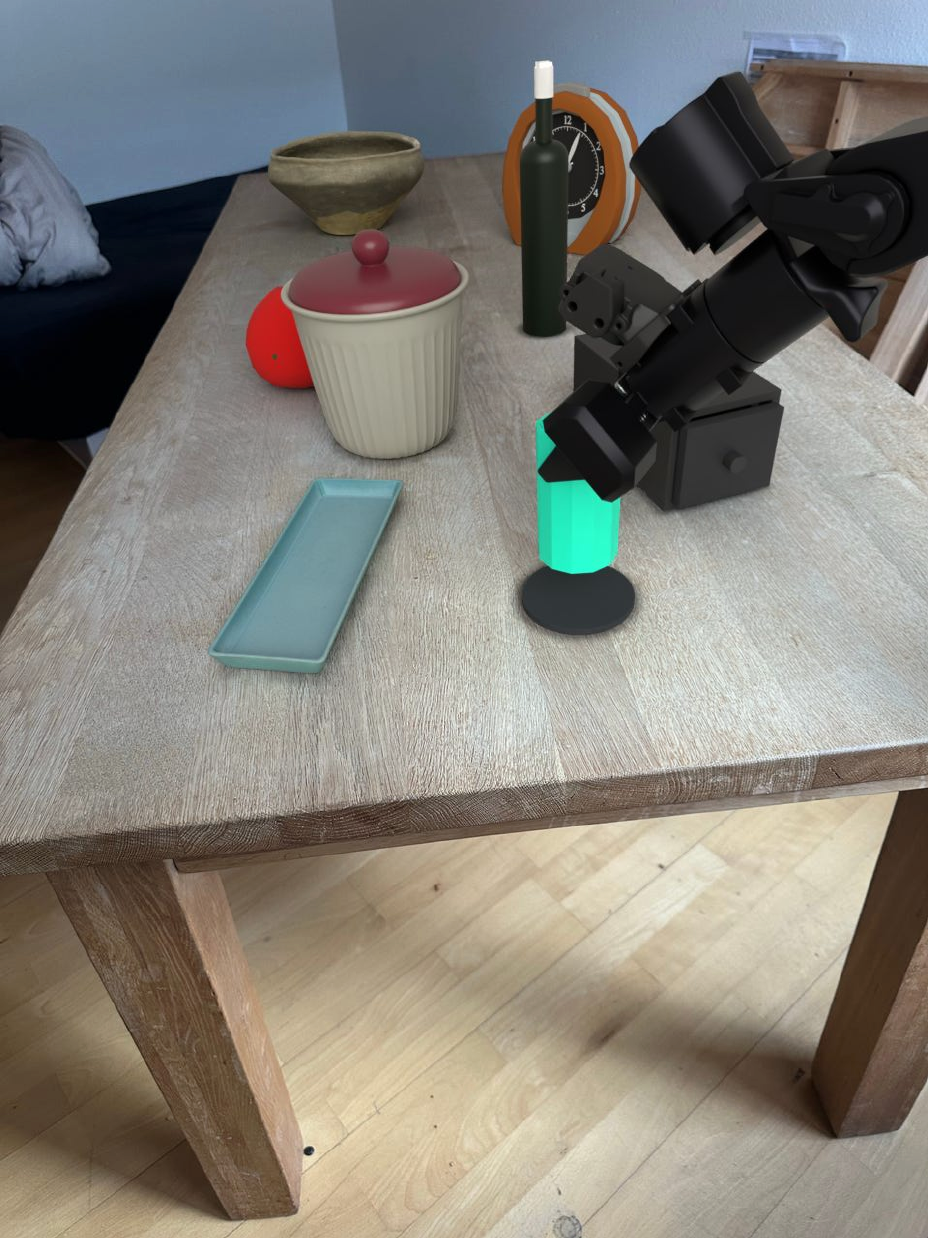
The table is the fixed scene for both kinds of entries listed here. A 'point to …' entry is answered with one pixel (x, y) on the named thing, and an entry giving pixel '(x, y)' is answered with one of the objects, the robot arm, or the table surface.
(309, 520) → the rectangular tray
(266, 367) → the tomato
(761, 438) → the drawer
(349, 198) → the bowl
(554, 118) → the alarm clock
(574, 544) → the candle
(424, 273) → the canister
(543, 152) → the wine bottle
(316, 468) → the table surface
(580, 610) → the coaster
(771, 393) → the cabinet
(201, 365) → the table surface
